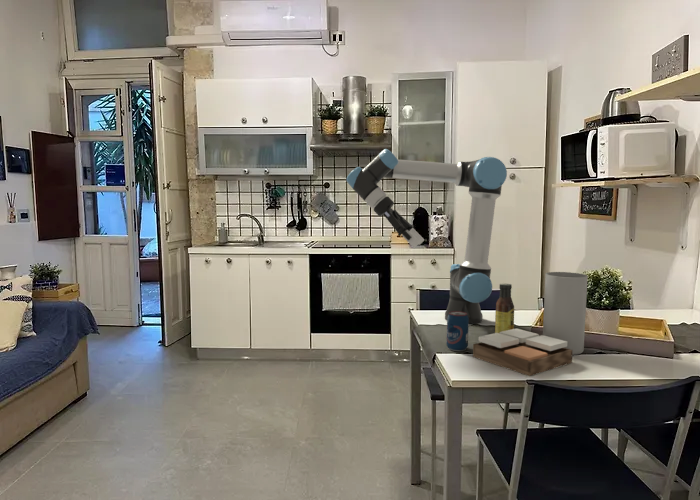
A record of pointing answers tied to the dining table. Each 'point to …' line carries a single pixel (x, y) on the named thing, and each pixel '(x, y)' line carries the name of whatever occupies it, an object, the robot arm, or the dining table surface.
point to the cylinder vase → (565, 308)
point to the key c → (546, 343)
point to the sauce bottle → (504, 310)
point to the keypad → (519, 364)
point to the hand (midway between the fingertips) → (419, 244)
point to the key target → (525, 353)
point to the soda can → (457, 330)
